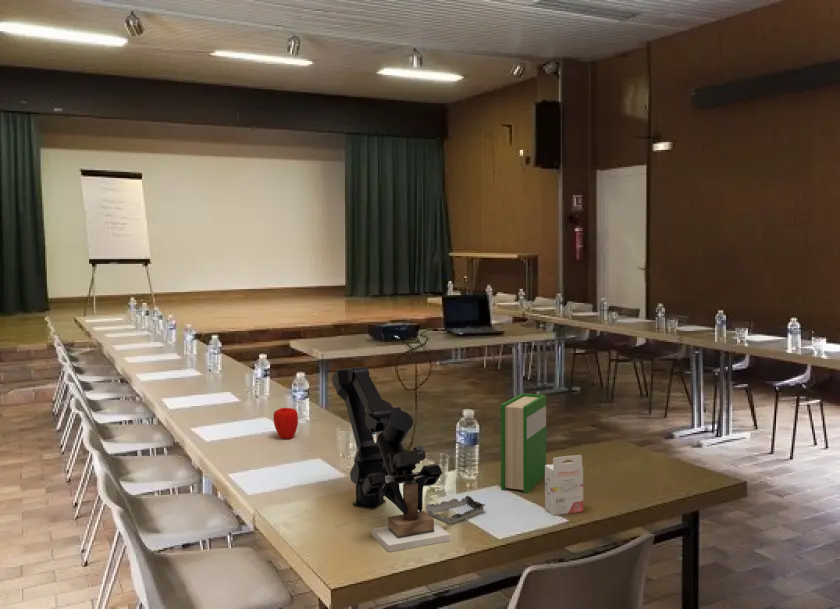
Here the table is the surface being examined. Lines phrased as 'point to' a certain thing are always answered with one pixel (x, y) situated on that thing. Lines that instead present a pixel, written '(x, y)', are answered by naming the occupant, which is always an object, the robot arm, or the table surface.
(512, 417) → the hardback book
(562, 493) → the ink cartridge box
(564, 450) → the table surface
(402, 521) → the brown wooden peg block
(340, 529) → the table surface
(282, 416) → the apple
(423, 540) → the primed board
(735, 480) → the table surface
